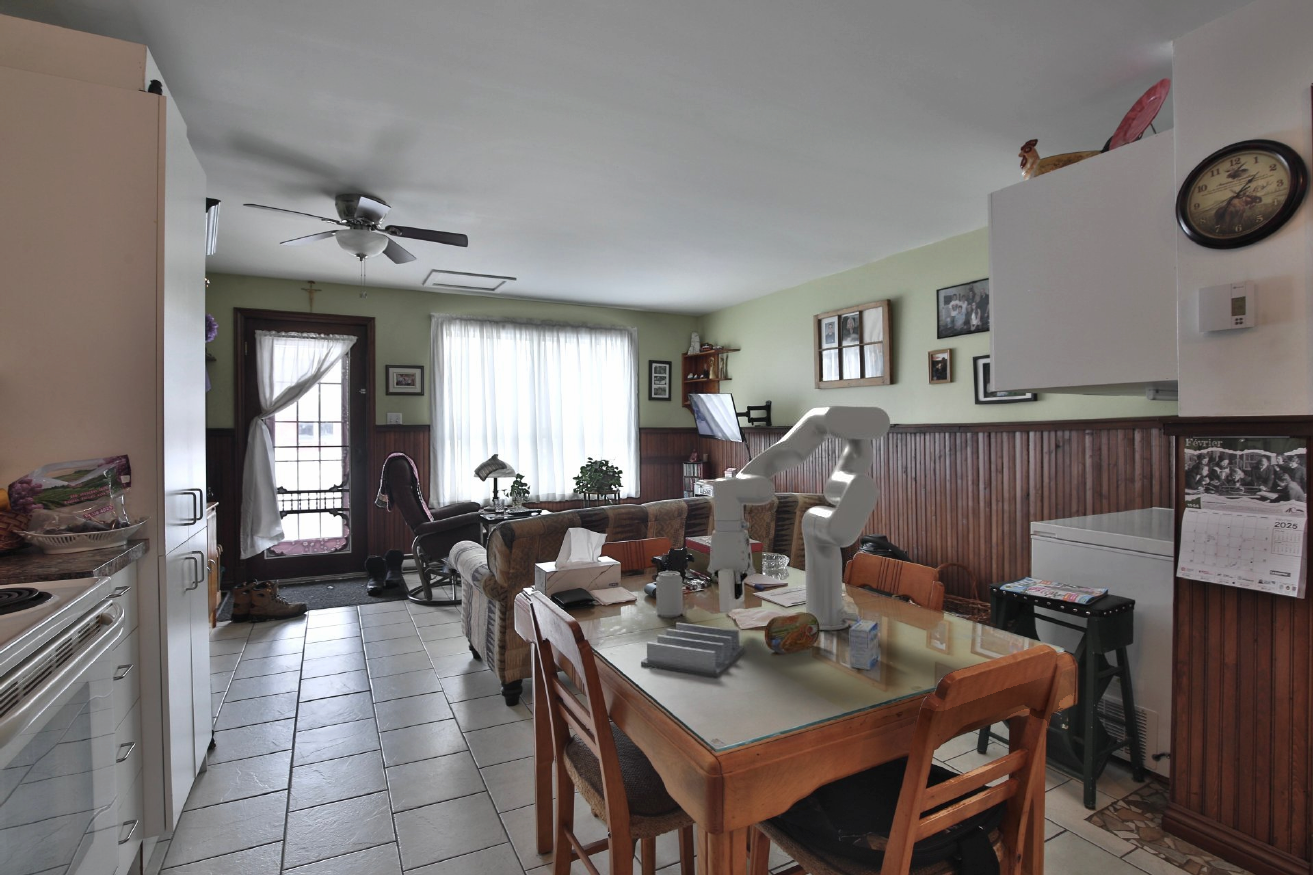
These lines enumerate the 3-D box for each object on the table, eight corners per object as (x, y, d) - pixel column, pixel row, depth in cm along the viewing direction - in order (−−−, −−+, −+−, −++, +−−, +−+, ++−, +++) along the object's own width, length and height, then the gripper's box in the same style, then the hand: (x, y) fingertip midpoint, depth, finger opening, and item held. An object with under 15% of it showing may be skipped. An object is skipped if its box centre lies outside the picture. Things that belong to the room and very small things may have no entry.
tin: (770, 656, 150) (770, 620, 150) (762, 652, 153) (762, 617, 153) (820, 645, 157) (820, 611, 157) (812, 642, 160) (811, 608, 160)
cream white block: (744, 599, 171) (742, 562, 171) (729, 612, 160) (727, 572, 160) (735, 599, 172) (733, 561, 172) (719, 611, 161) (718, 571, 161)
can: (680, 618, 181) (679, 576, 181) (654, 617, 183) (653, 575, 183) (684, 611, 189) (684, 570, 188) (659, 610, 190) (658, 569, 190)
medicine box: (869, 671, 141) (869, 631, 140) (849, 667, 143) (848, 628, 143) (878, 659, 147) (878, 621, 147) (858, 656, 150) (858, 618, 150)
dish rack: (744, 650, 155) (744, 629, 155) (716, 678, 137) (716, 654, 137) (675, 640, 162) (675, 620, 162) (641, 666, 145) (640, 643, 145)
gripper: (764, 524, 166) (766, 596, 166) (705, 522, 173) (708, 591, 173) (755, 529, 159) (758, 604, 159) (694, 527, 166) (697, 598, 166)
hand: (732, 596), depth 166 cm, fingers closed on cream white block, 2 cm apart
